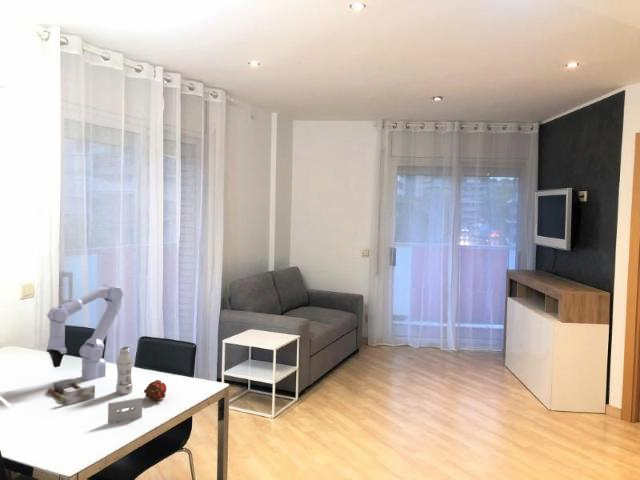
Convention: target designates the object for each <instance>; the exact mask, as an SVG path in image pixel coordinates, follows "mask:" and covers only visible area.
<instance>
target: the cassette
mask: <svg viewBox="0 0 640 480" xmlns="http://www.w3.org/2000/svg"><path fill="white" fill-rule="evenodd" d="M124 409H127V410H124ZM142 417H143V398H142V397H135V398H130V399H125V400H119V401H112V402H108V404H107V423H108V425H111V424H119V423H122V422H123V423H125V422H128V421H129V422H130V421H133V420H139V419H142Z"/></svg>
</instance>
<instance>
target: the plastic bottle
mask: <svg viewBox="0 0 640 480" xmlns="http://www.w3.org/2000/svg"><path fill="white" fill-rule="evenodd" d="M119 349H120V350H119V356H117V358H116V371H117V379H116V386H115V392H116V394H117V396H118V395H119V396H125V395H128V394H130V393H132V392H133V382H132V367H133V361H134V360H133V357H132V355H131V354H130V347H129V346H123V347H120V348H119Z"/></svg>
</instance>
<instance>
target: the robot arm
mask: <svg viewBox="0 0 640 480" xmlns="http://www.w3.org/2000/svg"><path fill="white" fill-rule="evenodd" d="M123 296H124V292H123V290H122V288H121V286H118V285H114V284H113V285H112V284H109V283H104V284H102V285H100V286H97V287H96V288H95V289H94V290H92V291H90V292H89V293H87V294H85V295H84V296H81V297H80V298H72V297H71V298H70V299H69V300H68V301H67V302H65V303H63V304H59V305H58V307H57V306H55V307H52V308H50V309H49V311H48V313H47V314H46V315H47V319H48V320H49V342H47V346H46V349H47V350H48V354H49V355H50V358H51V361H52V362H51V363H52V365H53V368H59V367H61V364H62V361H63V357H64V355H65V354H67V351H68V350H67V348H66V344H65V341H66V340H65V339H66V334H65V333H66V321H67V320H68V318H69V317H70V316H72V315H74V314H76V313H78V312H79V311H81V310H83V307H84V306H85V305H87V304H89V303H91V302H94V301H96V300H97V299H103V300H104V301H105V304H106V305H107V306H106V309H105V311H104V313H103V314H102V316H101V318H100V320H99V322H98V324H97V325H96V328H95V329H94V332H93V334H92V335H91V336H90V338H88V339H87V340H86V341H85V343H84V344H83V345H82V346H80V349H79V351H78V353H79V355H80V357H81V379H82V380H84V381H92V380H97V379H101V378H106V369H107V367H106V366H107V364H106V360H105V359H104V358H103V352H104V348H105V344H104V341H105V339H106V336H107V334H108V333H109V331H110V329H111V327H112V326H113V323H114V321H115V319H116V317H117V315H118V314H119V311H120V309H121V307H122V298H123Z"/></svg>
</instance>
